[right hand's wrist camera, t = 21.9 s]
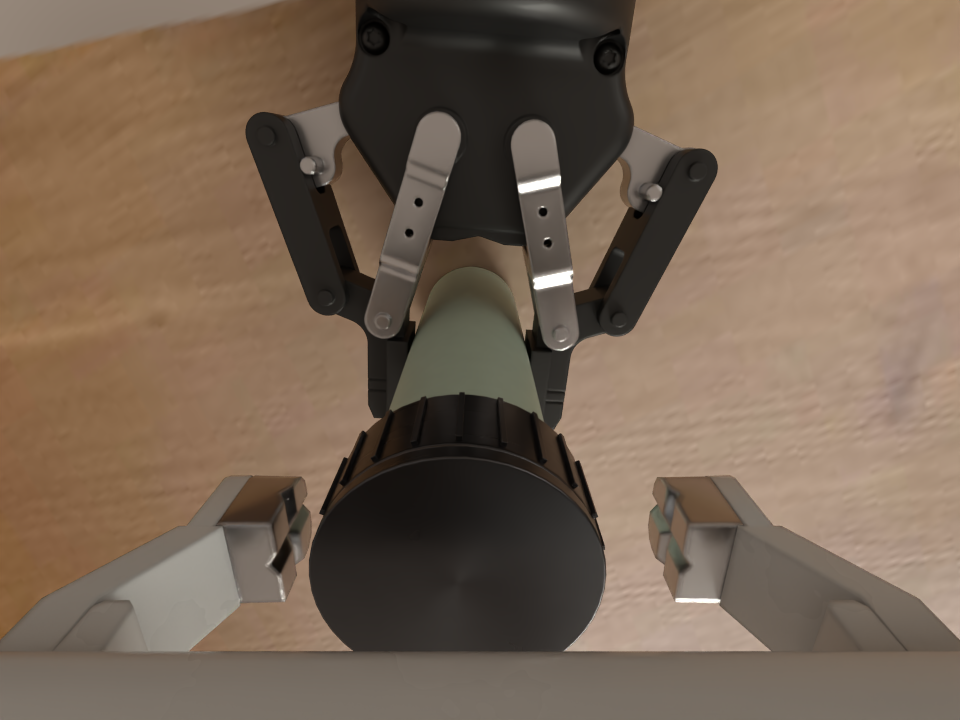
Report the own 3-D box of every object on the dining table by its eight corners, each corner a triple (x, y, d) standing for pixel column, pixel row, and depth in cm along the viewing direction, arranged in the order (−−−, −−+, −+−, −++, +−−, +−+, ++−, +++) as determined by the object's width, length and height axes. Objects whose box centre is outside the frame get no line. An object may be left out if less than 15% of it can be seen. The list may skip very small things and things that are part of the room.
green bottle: (487, 366, 25) (500, 658, 10) (411, 326, 24) (312, 583, 10) (532, 293, 23) (615, 515, 9) (453, 249, 23) (408, 415, 8)
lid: (295, 528, 11) (253, 616, 9) (421, 339, 9) (404, 392, 7) (493, 625, 12) (496, 724, 10) (636, 471, 10) (675, 549, 8)
